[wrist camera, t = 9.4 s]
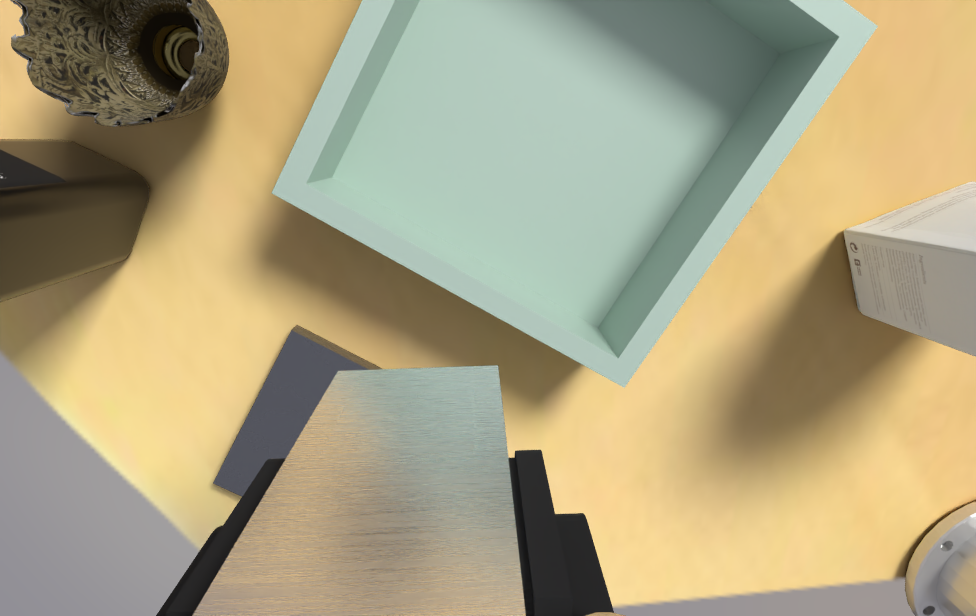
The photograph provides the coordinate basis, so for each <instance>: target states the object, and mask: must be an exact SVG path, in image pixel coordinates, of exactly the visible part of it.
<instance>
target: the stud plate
mask: <svg viewBox="0 0 976 616" xmlns="http://www.w3.org/2000/svg"><path fill="white" fill-rule="evenodd" d="M381 369H382V368H380V367H378V366H376V365H374V364H372V363H370V362H368V361H366V360H364V359H362V358H360V357H358V356H356V355H354V354H353V353H351V352H349V351H347V350H345V349H343V348H341V347H339V346H337V345H335V344H333V343H331V342H329V341H327V340H325V339H323V338H321V337H319V336H318V335H316V334H314V333H312V332H310V331H308V330H306V329H304V328H302V327H300V326H298V325H296V326H295V327H294V328H293V329H292V330H291V332H290V334H289V336H288V338H287V340H286V342H285V344H284V346H283V348H282V350H281V352H280V354H279V356H278V358H277V360H276V362H275V364H274V366H273V367H272V369H271V371H270V373H269V375H268V377H267V379H266V381H265V383H264V385H263V387H262V389H261V391H260V393H259V395H258V397H257V399H256V401H255V403H254V405H253V406H252V408H251V410H250V412H249V414H248V416H247V418H246V420H245V422H244V424H243V426H242V428H241V430H240V432H239V434H238V436H237V438H236V440H235V442H234V444H233V445H232V447H231V449H230V451H229V453H228V455H227V457H226V459H225V461H224V463H223V465H222V467H221V469H220V471H219V473H218V475H217V477H216V479H215V481H214V482H213V484H216V485H218V486H220V487H222V488H224V489H227V490H229V491H231V492H233V493H235V494H238V495H240V496H243V495H244V493H245V492H246V490H247V489H248V487H249V486H250V484H251V483H252V481H253V480H254V478H255V477H256V475H257V474H258V472H259V471H260V469H261V468H262V466H263V465H264V463H265V462H266V461H267V460H268V459H279V458H287V456H288V454H289V453H290V451H291V449H292V447H293V446H294V444H295V442H296V441H297V439H298V437H299V436H300V434H301V432H302V431H303V429H304V427H305V426H306V424H307V422H308V421H309V419H310V417H311V416H312V414H313V412H314V411H315V409H316V407H317V405H318V404H319V402H320V400H321V399H322V397H323V395H324V394H325V392H326V390H327V389H328V387H329V385H330V384H331V382H332V380H333V379H334V377H335V375H336V374H337V372H338V371H352V370H381Z"/></svg>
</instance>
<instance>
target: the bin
mask: <svg viewBox="0 0 976 616" xmlns="http://www.w3.org/2000/svg"><path fill="white" fill-rule="evenodd" d="M877 27H878V26H877V25H875V24H874V23H873V22H871V21H870V20H869V19H867V18H866V17H865V16H863V15H862V14H861V13H859V12H858V11H857V10H855V9H854V8H853V7H851V6H850V5H849V4H847V3H846V2H845V1H843V0H362V2H361V4H360V6H359V8H358V11H357V13H356V15H355V17H354V19H353V21H352V23H351V25H350V28H349V30H348V32H347V34H346V36H345V38H344V40H343V42H342V45H341V47H340V49H339V51H338V53H337V55H336V57H335V59H334V62H333V64H332V66H331V68H330V70H329V72H328V74H327V76H326V79H325V81H324V83H323V85H322V87H321V89H320V91H319V93H318V96H317V98H316V100H315V102H314V104H313V106H312V108H311V111H310V113H309V115H308V117H307V119H306V121H305V123H304V125H303V128H302V130H301V132H300V134H299V136H298V138H297V140H296V142H295V145H294V147H293V149H292V151H291V153H290V155H289V157H288V159H287V162H286V164H285V166H284V168H283V170H282V172H281V174H280V176H279V179H278V181H277V183H276V185H275V187H274V189H273V191H272V194H274V195H276V196H278V197H279V198H281V199H283V200H285V201H287V202H288V203H290V204H292V205H294V206H296V207H297V208H299V209H301V210H303V211H305V212H307V213H308V214H310V215H312V216H314V217H316V218H317V219H319V220H321V221H323V222H325V223H327V224H328V225H330V226H332V227H334V228H336V229H337V230H339V231H341V232H343V233H345V234H346V235H348V236H350V237H352V238H354V239H356V240H357V241H359V242H361V243H363V244H365V245H366V246H368V247H370V248H372V249H374V250H375V251H377V252H379V253H381V254H383V255H385V256H386V257H388V258H390V259H392V260H394V261H395V262H397V263H399V264H401V265H403V266H405V267H406V268H408V269H410V270H412V271H414V272H415V273H417V274H419V275H421V276H423V277H424V278H426V279H428V280H430V281H432V282H434V283H435V284H437V285H439V286H441V287H443V288H444V289H446V290H448V291H450V292H452V293H454V294H455V295H457V296H459V297H461V298H463V299H464V300H466V301H468V302H470V303H472V304H473V305H475V306H477V307H479V308H481V309H483V310H484V311H486V312H488V313H490V314H492V315H493V316H495V317H497V318H499V319H501V320H503V321H504V322H506V323H508V324H510V325H512V326H513V327H515V328H517V329H519V330H521V331H522V332H524V333H526V334H528V335H530V336H532V337H533V338H535V339H537V340H539V341H541V342H542V343H544V344H546V345H548V346H550V347H552V348H553V349H555V350H557V351H559V352H561V353H562V354H564V355H566V356H568V357H570V358H571V359H573V360H575V361H577V362H579V363H581V364H582V365H584V366H586V367H588V368H590V369H591V370H593V371H595V372H597V373H599V374H600V375H602V376H604V377H606V378H608V379H610V380H611V381H613V382H615V383H617V384H619V385H620V386H622V387H624V388H625V386H626V385H627V383H628V382H629V380H630V379H631V378H632V376H633V375H634V373H635V372H636V370H637V369H638V368H639V366H640V365H641V363H642V362H643V360H644V359H645V358H646V356H647V355H648V353H649V352H650V350H651V349H652V348H653V346H654V345H655V343H656V342H657V340H658V339H659V338H660V336H661V335H662V333H663V332H664V330H665V329H666V328H667V326H668V325H669V323H670V322H671V321H672V319H673V318H674V316H675V315H676V313H677V312H678V311H679V309H680V308H681V306H682V305H683V303H684V302H685V301H686V299H687V298H688V296H689V295H690V293H691V292H692V291H693V289H694V288H695V286H696V285H697V283H698V282H699V281H700V279H701V278H702V276H703V275H704V273H705V272H706V271H707V269H708V268H709V266H710V265H711V263H712V262H713V261H714V259H715V258H716V256H717V255H718V253H719V252H720V251H721V249H722V248H723V246H724V245H725V243H726V242H727V241H728V239H729V238H730V236H731V235H732V233H733V232H734V231H735V229H736V228H737V226H738V225H739V224H740V222H741V221H742V219H743V218H744V216H745V215H746V214H747V212H748V211H749V209H750V208H751V206H752V205H753V204H754V202H755V201H756V199H757V198H758V196H759V195H760V194H761V192H762V191H763V189H764V188H765V186H766V185H767V184H768V182H769V181H770V179H771V178H772V176H773V175H774V174H775V172H776V171H777V169H778V168H779V166H780V165H781V164H782V162H783V161H784V159H785V158H786V156H787V155H788V154H789V152H790V151H791V149H792V148H793V146H794V145H795V144H796V142H797V141H798V139H799V138H800V137H801V135H802V134H803V132H804V131H805V129H806V128H807V127H808V125H809V124H810V122H811V121H812V119H813V118H814V117H815V115H816V114H817V112H818V111H819V109H820V108H821V107H822V105H823V104H824V102H825V101H826V99H827V98H828V97H829V95H830V94H831V92H832V91H833V89H834V88H835V87H836V85H837V84H838V82H839V81H840V79H841V78H842V77H843V75H844V74H845V72H846V71H847V69H848V68H849V67H850V65H851V64H852V62H853V61H854V59H855V58H856V57H857V55H858V54H859V52H860V51H861V49H862V48H863V47H864V45H865V44H866V42H867V41H868V40H869V38H870V37H871V35H872V34H873V32H874V31H875V30H876V28H877Z"/></svg>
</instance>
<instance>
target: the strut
mask: <svg viewBox="0 0 976 616" xmlns="http://www.w3.org/2000/svg"><path fill="white" fill-rule="evenodd" d="M192 616H526V613H525V604H524V595H523V586H522V577H521V568H520V559H519V550H518V541H517V532H516V523H515V514H514V505H513V496H512V487H511V478H510V469H509V460H508V451H507V442H506V432H505V423H504V414H503V405H502V396H501V387H500V378H499V369H498V365H495V366H467V367H438V368H409V369H381V370H352V371H338V372H337V374H336V375H335V377H334V379H333V380H332V382H331V384H330V385H329V387H328V389H327V390H326V392H325V394H324V395H323V397H322V399H321V400H320V402H319V404H318V405H317V407H316V409H315V411H314V412H313V414H312V416H311V417H310V419H309V421H308V422H307V424H306V426H305V427H304V429H303V431H302V432H301V434H300V436H299V437H298V439H297V441H296V442H295V444H294V446H293V447H292V449H291V451H290V453H289V454H288V456H287V458H286V459H285V461H284V463H283V464H282V466H281V468H280V469H279V471H278V473H277V474H276V476H275V478H274V479H273V481H272V483H271V484H270V486H269V488H268V489H267V491H266V493H265V495H264V496H263V498H262V500H261V501H260V503H259V505H258V506H257V508H256V510H255V511H254V513H253V515H252V516H251V518H250V520H249V521H248V523H247V525H246V526H245V528H244V530H243V531H242V533H241V535H240V537H239V538H238V540H237V542H236V543H235V545H234V547H233V548H232V550H231V552H230V553H229V555H228V557H227V558H226V560H225V562H224V563H223V565H222V567H221V568H220V570H219V572H218V573H217V575H216V577H215V579H214V580H213V582H212V584H211V585H210V587H209V589H208V590H207V592H206V594H205V595H204V597H203V599H202V600H201V602H200V604H199V605H198V607H197V609H196V610H195V612H194V614H193V615H192Z"/></svg>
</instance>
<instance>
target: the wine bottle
mask: <svg viewBox="0 0 976 616" xmlns="http://www.w3.org/2000/svg"><path fill="white" fill-rule="evenodd" d="M148 200H149V187H148V185H147V183H146V181H145V179H144V178H143V177H142V176H140V175H139V174H138V173H137V172H135V171H133V170H131V169H129V168H127V167H125V166H123V165H121V164H119V163H116V162H114V161H112V160H110V159H108V158H106V157H104V156H102V155H100V154H97V153H95V152H93V151H91V150H89V149H87V148H85V147H83V146H81V145H78V144H76V143H74V142H70V141H65V140H36V139H0V302H2V301H5V300H8V299H11V298H14V297H17V296H20V295H23V294H26V293H29V292H32V291H35V290H38V289H41V288H44V287H46V286H49V285H52V284H55V283H58V282H61V281H64V280H67V279H70V278H73V277H76V276H79V275H82V274H85V273H88V272H91V271H94V270H97V269H100V268H103V267H106V266H109V265H112V264H115V263H118V262H121V261H124V260H125V259H126V258H127V257H128V255H129V254H130V252H131V250H132V247H133V244H134V241H135V238H136V235H137V232H138V229H139V226H140V223H141V220H142V217H143V214H144V212H145V209H146V206H147V203H148Z"/></svg>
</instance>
